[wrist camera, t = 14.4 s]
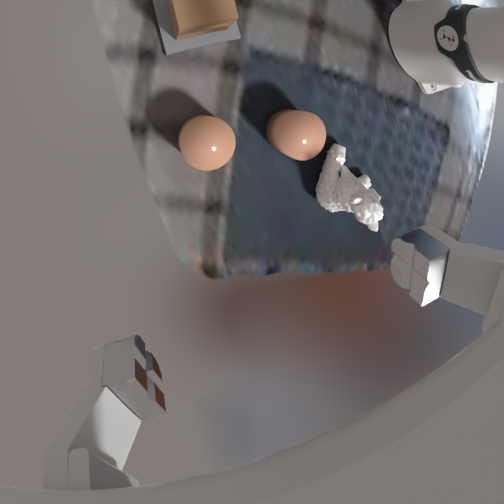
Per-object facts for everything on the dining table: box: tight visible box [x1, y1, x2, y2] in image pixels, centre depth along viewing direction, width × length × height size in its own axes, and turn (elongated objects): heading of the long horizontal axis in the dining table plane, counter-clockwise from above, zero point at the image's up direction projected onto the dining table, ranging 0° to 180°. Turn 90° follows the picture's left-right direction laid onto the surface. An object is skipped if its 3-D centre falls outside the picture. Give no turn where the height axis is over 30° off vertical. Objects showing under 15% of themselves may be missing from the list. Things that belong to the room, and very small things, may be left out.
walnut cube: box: [167, 0, 239, 41], centre depth 24 cm, size 6×6×6 cm
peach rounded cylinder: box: [178, 115, 235, 171], centre depth 33 cm, size 6×6×5 cm
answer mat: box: [152, 0, 241, 56], centre depth 26 cm, size 9×9×1 cm
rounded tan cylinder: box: [266, 109, 326, 160], centre depth 35 cm, size 6×6×5 cm
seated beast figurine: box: [315, 143, 384, 232], centre depth 38 cm, size 10×9×12 cm
